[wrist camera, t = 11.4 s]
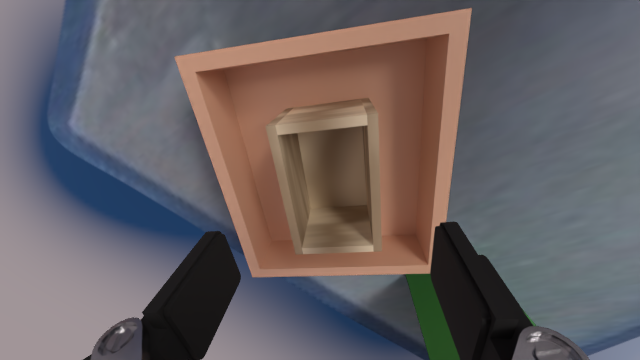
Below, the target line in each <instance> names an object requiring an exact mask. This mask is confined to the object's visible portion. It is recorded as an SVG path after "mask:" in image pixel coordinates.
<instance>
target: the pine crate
mask: <svg viewBox="0 0 640 360" xmlns="http://www.w3.org/2000/svg"><path fill="white" fill-rule="evenodd" d="M266 131H267V135H268V139H269V143H270V148H271V152H272V156H273V160H274V165H275V169H276V173H277V177H278V182H279V186H280V190H281V194H282V199H283V203H284V207H285V211H286V216H287V220H288V224H289V228H290V233H291V237H292V241H293V245H294V250H295V254H296V255H297V254H324V253H351V252H378V251H382V236H381V199H380V163H379V126H378V112H377V111H376V109H375V108H374V106H373V104H372V103H371V101H370V100H369V98H363V99H355V100H347V101H339V102H331V103H323V104H315V105H307V106H299V107H291V108H287V109H285V110H284V111H283V112H282V113H281V114H279V115H278V116H277V117H276V118H275V119H274V120H272V121H271V122H270V123H269V124H268V125H267V126H266Z"/></svg>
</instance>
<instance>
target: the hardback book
mask: <svg viewBox="0 0 640 360" xmlns="http://www.w3.org/2000/svg"><path fill="white" fill-rule="evenodd" d="M406 278H407V281H408V285H409V288H410V292H411V295H412V299H413V302H414V306H415V309H416V313H417V316H418V320H419V323H420V327H421V330H422V334H423V337H424V341H425V344H426V348H427V351H428V355H429V359H430V360H460V358H459V355H458V352H457V349H456V347H455V344H454V341H453V339H452V336H451V333H450V330H449V328H448V325H447V322H446V319H445V317H444V314H443V311H442V308H441V306H440V303H439V300H438V297H437V295H436V292H435V289H434V287H433V284H432V281H431V276H430V274H406ZM522 310H523V309H522ZM524 313H525V312H524ZM525 314H526V313H525ZM526 316H527V317H528V318H529V316H528V315H527V314H526ZM529 320H530V321H531V323H532V324H533V326H536V325H535V324H534V322H533V321H532V320H531V319H530V318H529Z"/></svg>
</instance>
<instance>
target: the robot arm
mask: <svg viewBox="0 0 640 360" xmlns="http://www.w3.org/2000/svg"><path fill="white" fill-rule="evenodd" d="M430 276H431V281H432V284H433V287H434V289H435V292H436V295H437V297H438V300H439V303H440V306H441V308H442V311H443V314H444V317H445V319H446V322H447V325H448V328H449V330H450V333H451V336H452V339H453V341H454V344H455V347H456V349H457V352H458V355H459V358H460V360H589V358H588V357H587V355H586V354H585V353H584V352H583V351H582V350H581V349H580V347H578V346H577V345H576V344H575V343H573V342H572V341H571V340H570V339H568V338H567V337H565V336H563V335H562V334H560V333H558V332H556V331H553V330H551V329H548V328H544V327H539V326H533V324H532V323H531V321H530V320H529V318H528V317H527V316H526V314H525V313H524V311H523V310H522V308H521V307H520V305H519V304H518V302H517V301H516V299H515V298H514V296H513V295H512V293H511V292H510V291H509V289H508V288H507V286H506V285H505V283H504V282H503V280H502V279H501V277H500V276H499V274H498V273H497V271H496V270H495V268H494V267H493V265H492V264H491V263H490V261H489V260H488V259H487V257H486V256H484V255H478V254H477V252H476V251H475V249H474V248H473V246H472V245H471V243H470V242H469V240H468V238H467V237H466V235H465V234H464V232H463V231H462V229H461V228H460V226H459V225H458V223H457V222H441V223H440V225H439V226H436V227H435V232H434V242H433V251H432V260H431V270H430ZM240 279H241V275H240V272H239V269H238V267H237V264H236V262H235V259H234V257H233V254H232V252H231V249H230V247H229V244H228V242H227V240H226V237H225V235H224V234H222V233H221V232H220V231H211V232H206V233H205V234H204V235H203V236H202V238H201V239H200V240H199V242H198V243H197V244H196V245H195V246H194V248H193V249H192V250H191V252H190V253H189V254H188V255H187V257H186V258H185V259H184V260H183V262H182V263H181V264H180V265H179V267H178V268H177V269H176V270H175V272H174V273H173V274H172V275H171V277H170V278H169V279H168V281H167V282H166V283H165V284H164V285H163V287H162V288H161V289H160V291H159V292H158V293H157V294H156V296H155V297H154V298H153V299H152V301H151V302H150V303H149V304H148V306H147V307H146V308H145V310H144V311H143V312H142V313H143V315H144V317H143V318H142V319H141V320H140V319H139V318H134V317H133V318H128V319H125V320H123V321H120V322H119V323H117V324H115V325H114V326H112V327H111V328H110V329H109V330H107V331H106V332H105V333H104V334H103V335H102V336H101V337H100V338H99V340H98V341H97V343H96V344H95V346H94V349H93V351H92V354H91V355H90V356H88V357H86V358H85V359H83V360H200V359H202V358H203V357H204V356H205V354H206V352H207V350H208V348H209V345H210V344H211V341H212V340H213V337H214V335H215V333H216V331H217V329H218V327H219V325H220V323H221V321H222V318H223V316H224V314H225V312H226V310H227V308H228V306H229V304H230V302H231V299H232V297H233V295H234V293H235V291H236V289H237V287H238V285H239V282H240Z"/></svg>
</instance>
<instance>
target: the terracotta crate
mask: <svg viewBox="0 0 640 360" xmlns="http://www.w3.org/2000/svg"><path fill="white" fill-rule="evenodd" d="M471 12H472V8H468V9H462V10H455V11H449V12H443V13H437V14H431V15H425V16H419V17H413V18H407V19H401V20H395V21H388V22H382V23H376V24H370V25H364V26H358V27H352V28H346V29H340V30H334V31H327V32H321V33H315V34H309V35H303V36H297V37H291V38H285V39H279V40H273V41H267V42H260V43H254V44H248V45H242V46H236V47H230V48H224V49H218V50H212V51H206V52H199V53H193V54H187V55H181V56H175V60H176V63H177V66H178V68H179V71H180V74H181V77H182V80H183V82H184V85H185V88H186V91H187V94H188V97H189V99H190V102H191V105H192V108H193V111H194V113H195V116H196V119H197V122H198V125H199V128H200V130H201V133H202V136H203V139H204V142H205V145H206V147H207V150H208V153H209V156H210V159H211V161H212V164H213V167H214V170H215V173H216V176H217V178H218V181H219V184H220V187H221V190H222V192H223V195H224V198H225V201H226V204H227V207H228V209H229V212H230V215H231V218H232V221H233V223H234V226H235V229H236V232H237V235H238V238H239V240H240V243H241V246H242V249H243V252H244V254H245V257H246V260H247V263H248V266H249V269H250V271H251V274H252V277H291V276H338V275H385V274H430V270H431V260H432V251H433V242H434V232H435V227H436V226H439V225H440V223H441V222H446V217H447V209H448V201H449V193H450V184H451V176H452V168H453V160H454V151H455V143H456V135H457V127H458V119H459V110H460V102H461V94H462V86H463V77H464V69H465V61H466V53H467V45H468V36H469V28H470V20H471ZM363 98H369V100H370V101H371V103H372V104H373V106H374V108H375V109H376V111H377V112H378V126H379V163H380V199H381V236H382V251H378V252H351V253H324V254H297V255H296V254H295V250H294V245H293V241H292V237H291V233H290V228H289V224H288V220H287V216H286V211H285V207H284V203H283V199H282V194H281V190H280V186H279V182H278V177H277V173H276V169H275V165H274V160H273V156H272V152H271V148H270V143H269V139H268V135H267V131H266V126H267V125H268V124H269V123H270V122H271V121H272V120H274V119H275V118H276V117H277V116H278V115H279V114H281V113H282V112H283V111H284V110H285V109H287V108H291V107H299V106H307V105H315V104H323V103H331V102H339V101H347V100H355V99H363Z"/></svg>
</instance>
